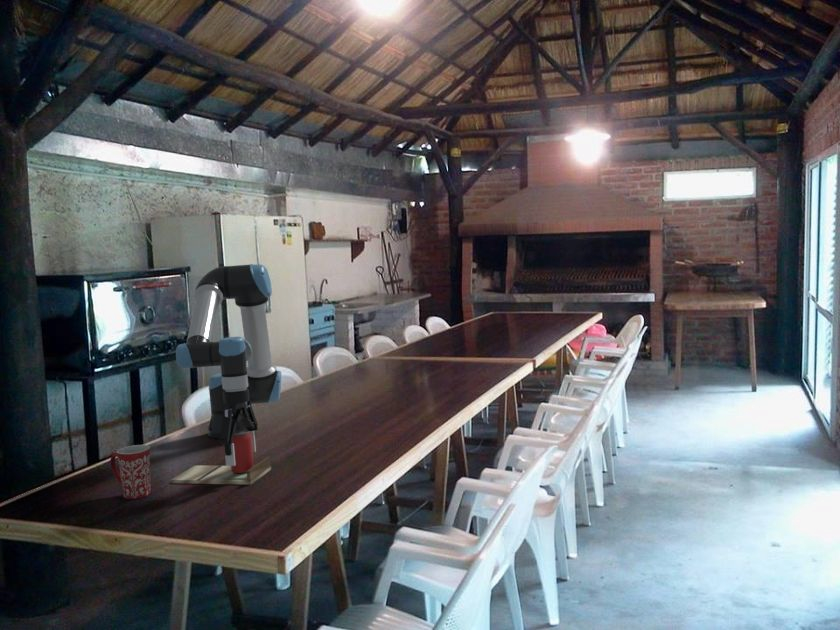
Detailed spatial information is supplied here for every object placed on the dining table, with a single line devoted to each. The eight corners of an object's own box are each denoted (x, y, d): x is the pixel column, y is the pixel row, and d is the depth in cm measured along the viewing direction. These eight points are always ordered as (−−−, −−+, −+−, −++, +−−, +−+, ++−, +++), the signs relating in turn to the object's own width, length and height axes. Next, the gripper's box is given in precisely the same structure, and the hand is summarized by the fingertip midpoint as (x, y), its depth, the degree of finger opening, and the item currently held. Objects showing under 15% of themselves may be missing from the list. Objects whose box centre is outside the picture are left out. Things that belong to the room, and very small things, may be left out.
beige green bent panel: (170, 483, 218) (169, 470, 218) (195, 468, 232) (194, 456, 231) (251, 484, 212) (249, 471, 212) (271, 469, 226) (270, 456, 225)
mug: (161, 490, 212) (157, 445, 210) (138, 501, 203) (134, 454, 202) (127, 487, 216) (123, 443, 215) (104, 498, 208) (99, 451, 207)
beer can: (245, 466, 225) (242, 428, 224) (258, 469, 221) (255, 430, 220) (227, 472, 220) (223, 433, 219) (240, 475, 216) (236, 436, 215)
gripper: (243, 381, 231) (248, 446, 233) (202, 398, 206) (209, 471, 209) (265, 380, 229) (270, 446, 231) (227, 398, 205) (233, 471, 207)
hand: (241, 458), depth 220 cm, fingers open, 13 cm apart
